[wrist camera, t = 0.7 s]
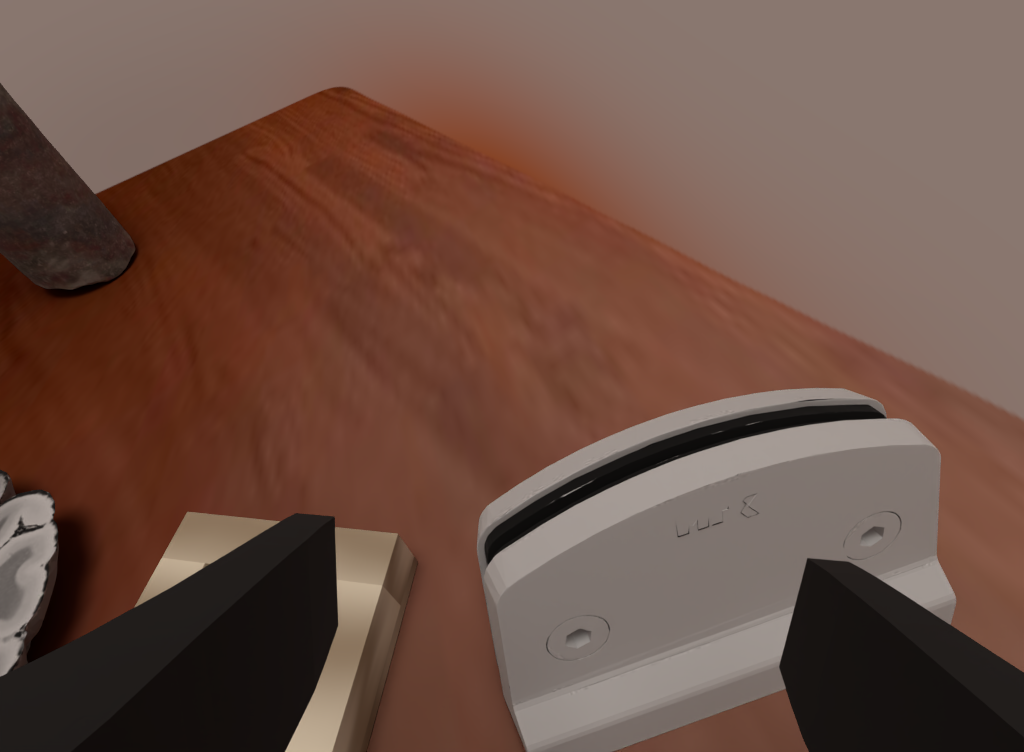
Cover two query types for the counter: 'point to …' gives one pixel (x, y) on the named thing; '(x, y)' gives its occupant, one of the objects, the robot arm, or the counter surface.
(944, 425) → the counter surface
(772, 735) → the counter surface
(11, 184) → the brown tall cylinder
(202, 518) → the well block
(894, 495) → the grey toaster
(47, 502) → the brain slice
